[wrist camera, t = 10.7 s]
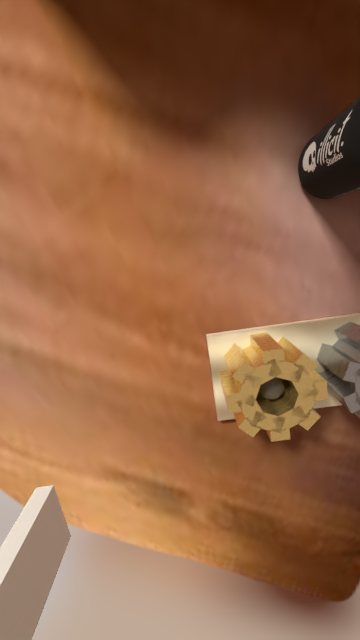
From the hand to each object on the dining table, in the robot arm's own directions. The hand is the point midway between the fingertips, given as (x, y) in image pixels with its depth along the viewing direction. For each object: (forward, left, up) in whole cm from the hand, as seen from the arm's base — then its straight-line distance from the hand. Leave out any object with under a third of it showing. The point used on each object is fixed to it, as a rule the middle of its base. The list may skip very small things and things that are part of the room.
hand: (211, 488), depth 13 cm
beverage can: (-16, +17, -25) cm, 34 cm away
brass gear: (+6, +8, -23) cm, 25 cm away
